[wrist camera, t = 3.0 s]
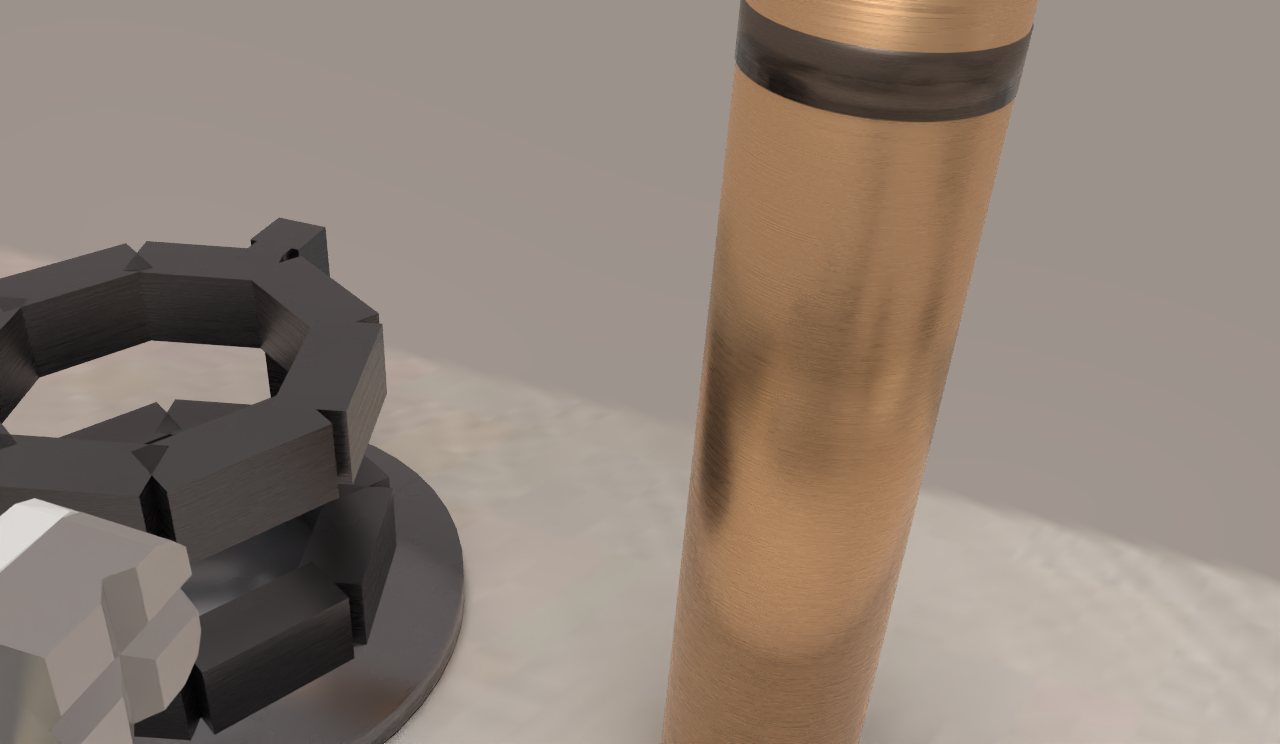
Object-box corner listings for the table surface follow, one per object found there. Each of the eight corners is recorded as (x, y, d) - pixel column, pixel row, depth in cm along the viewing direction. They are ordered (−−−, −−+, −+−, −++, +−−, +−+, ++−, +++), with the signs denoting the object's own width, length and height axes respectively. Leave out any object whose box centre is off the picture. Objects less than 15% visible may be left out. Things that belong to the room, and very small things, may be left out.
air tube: (886, 778, 29) (1125, -119, 18) (759, 890, 26) (947, -83, 15) (748, 668, 31) (881, -173, 20) (619, 759, 29) (693, -150, 18)
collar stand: (571, 634, 32) (582, 380, 27) (18, 971, 24) (-94, 685, 19) (296, 393, 40) (270, 168, 36) (-186, 580, 32) (-298, 317, 27)
